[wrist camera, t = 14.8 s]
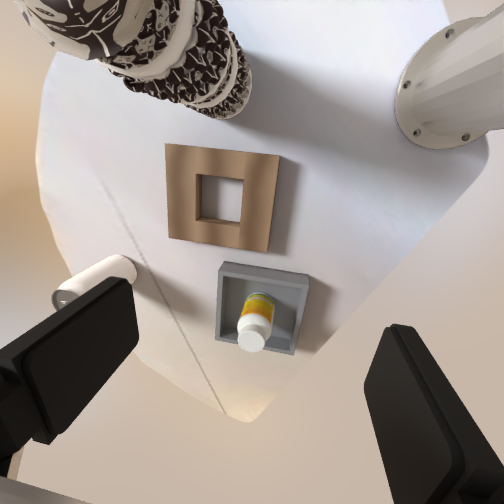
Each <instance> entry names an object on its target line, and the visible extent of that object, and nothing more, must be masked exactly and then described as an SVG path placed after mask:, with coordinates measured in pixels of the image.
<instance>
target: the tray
mask: <svg viewBox="0 0 504 504" xmlns="http://www.w3.org/2000/svg"><path fill="white" fill-rule="evenodd" d="M308 289H309V278H308V275H307V274H301V273H295V272H289V271H283V270H276V269H270V268H264V267H258V266H252V265H245V264H239V263H233V262H227V261H224V262H223V264H222V266H221V267H220V269H219V270H218V289H217V310H216V331H215V340H218V341H223V342H228V343H233V344H238V335H239V333H238V329H237V325H238V321H239V318H240V316H241V313H242V310H243V307H244V304H245V301H246V299H247V297H248V296H249V295H251V294H253V293H256V292H261V293H265V294H267V295H268V296H270V297H271V298H272V299H273V301H274V304H275V311H274V317H273V325H272V332H271V335H270V337H269V338H268V339H267V340H266V341H265V345H264V348H263V349H264V350H269V351H274V352H279V353H284V354H289V355H294V352H295V348H296V343H297V339H298V334H299V330H300V325H301V321H302V316H303V312H304V307H305V302H306V298H307V293H308Z"/></svg>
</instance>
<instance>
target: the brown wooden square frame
mask: <svg viewBox="0 0 504 504" xmlns="http://www.w3.org/2000/svg"><path fill="white" fill-rule="evenodd" d="M165 159H166V183H167V207H168V231H169V238H173V239H179V240H186V241H192V242H199V243H205V244H212V245H218V246H225V247H231V248H238V249H244V250H251V251H257V252H264V253H267V250H268V245H269V237H270V230H271V222H272V215H273V207H274V200H275V192H276V185H277V178H278V170H279V163H280V156H279V155H270V154H261V153H251V152H242V151H233V150H224V149H215V148H205V147H196V146H187V145H178V144H166V143H165ZM202 174H204V175H213V176H221V177H229V178H237V179H244V182H243V195H242V207H241V219H240V222H234V221H227V220H220V219H213V218H206V217H201V196H202Z"/></svg>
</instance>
